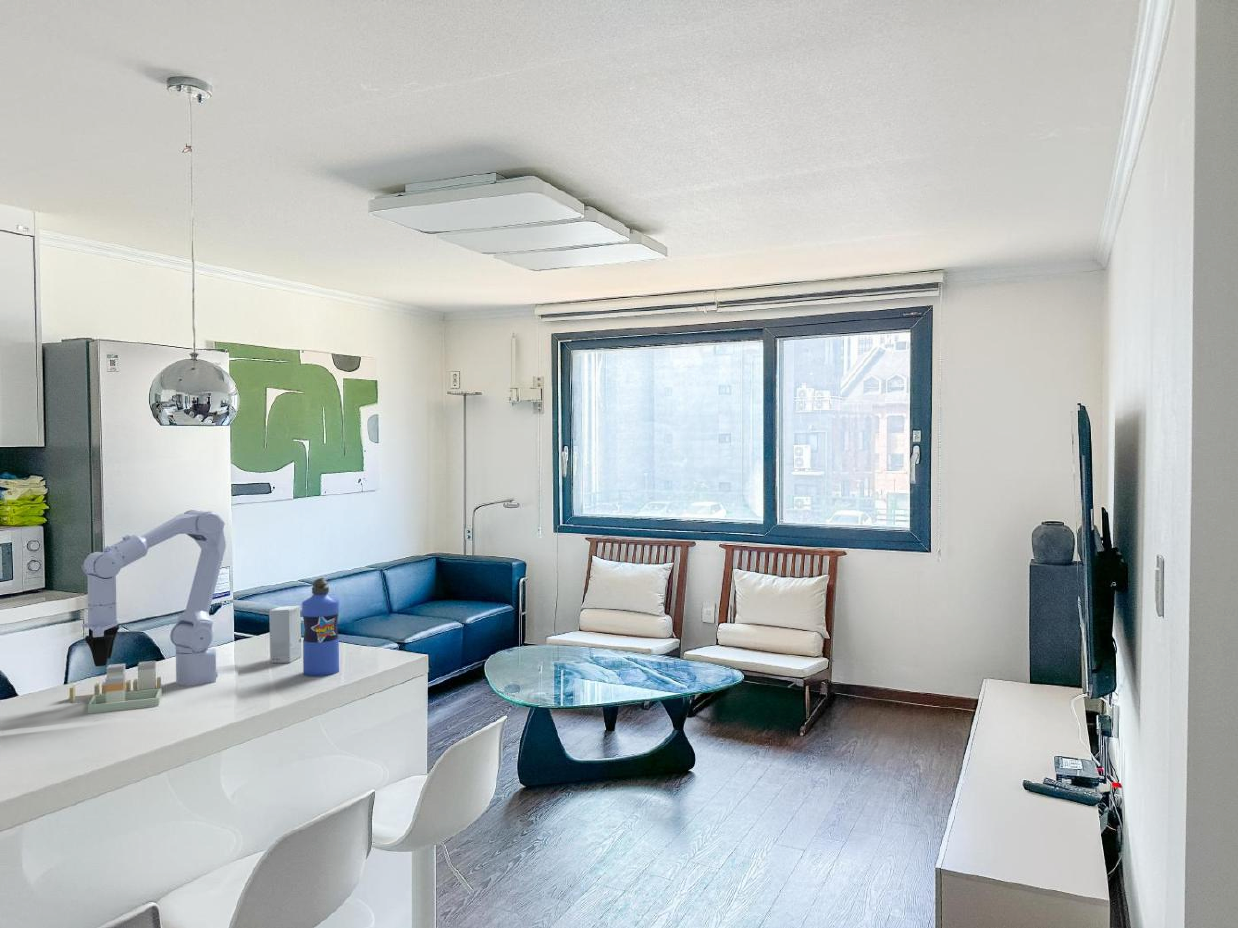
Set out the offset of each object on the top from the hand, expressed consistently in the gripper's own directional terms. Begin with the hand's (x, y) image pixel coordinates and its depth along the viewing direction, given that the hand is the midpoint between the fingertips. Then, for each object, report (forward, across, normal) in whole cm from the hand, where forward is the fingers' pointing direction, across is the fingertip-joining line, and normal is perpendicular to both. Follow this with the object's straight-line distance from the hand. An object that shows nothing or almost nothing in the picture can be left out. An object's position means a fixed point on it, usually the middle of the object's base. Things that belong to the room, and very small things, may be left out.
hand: (103, 662), depth 203 cm
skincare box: (+10, -30, +41) cm, 52 cm away
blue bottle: (+10, -11, +49) cm, 51 cm away
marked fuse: (+10, +4, +3) cm, 11 cm away
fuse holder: (+10, -5, +2) cm, 12 cm away
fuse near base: (+9, -5, +8) cm, 13 cm away
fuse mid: (+9, -5, +2) cm, 11 cm away
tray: (+10, +4, +5) cm, 12 cm away
